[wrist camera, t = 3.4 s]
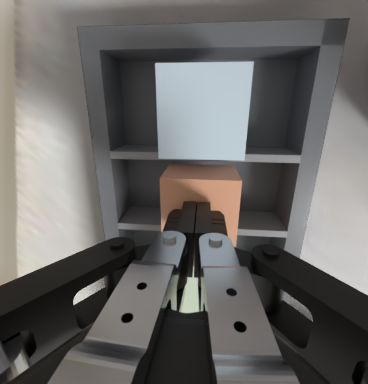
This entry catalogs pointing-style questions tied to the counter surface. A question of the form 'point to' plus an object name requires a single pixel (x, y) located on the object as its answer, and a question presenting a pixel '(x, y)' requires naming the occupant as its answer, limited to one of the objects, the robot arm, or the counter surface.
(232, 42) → the grey compartment tray
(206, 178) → the orange cube
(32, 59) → the counter surface
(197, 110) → the pale blue cube
